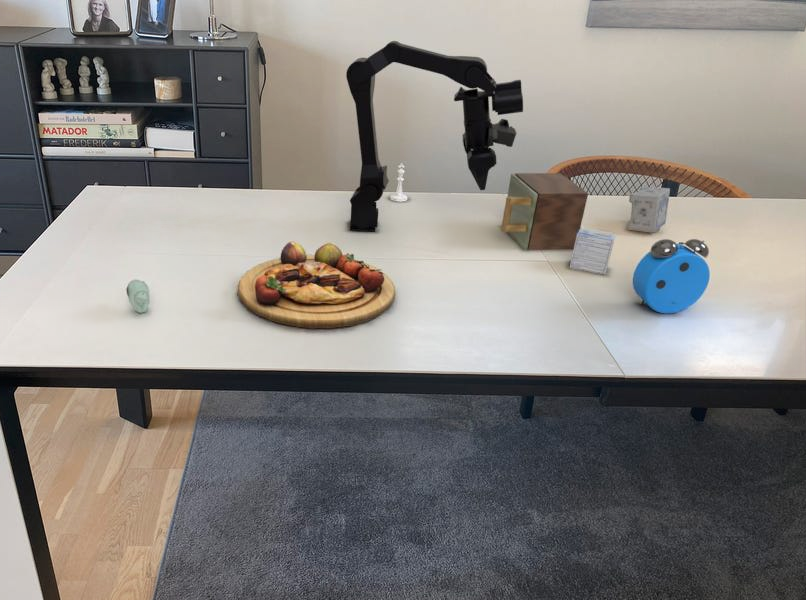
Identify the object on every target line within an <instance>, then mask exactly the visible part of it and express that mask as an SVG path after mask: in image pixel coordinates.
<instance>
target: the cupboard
mask: <svg viewBox="0 0 806 600" xmlns="http://www.w3.org/2000/svg"><path fill="white" fill-rule="evenodd" d="M514 174H515V175H516V176H517V177H518V178H519V179H521V180H522V181H523V182H524V183H525V184H526V185H528V186H529V187H530V188H531V189H532V190H533V191H535V192H536V193H537V194H538V197H537V202H536V207H535V212H534V218H533V223H532V228H531V233H530V238H529V243H528V249H527V250H528V251H553V250H554V251H556V250H558V251H559V250H560V251H561V250H563V251H565V250H566V251H567V250H574V246H575V242H576V237H577V233H578V231H579V229H580V228H581V227H582V222H583V218H584V215H585V214H584V213H585V210H586V204H587V201H588V197H589V193H588V192H587V191H585V190H584V189H583V188H581V187H580V186H579V185H577V184H576V183H575V182H574V181H572V180H571V179H570V178H568V177H567V176H565V175H564V174H562V173H560V172H557V173H556V172H553V173H551V172H546V173H545V172H542V173H541V172H537V173H536V172H532V173H531V172H527V173H526V172H518V173H517V172H515V173H514Z"/></svg>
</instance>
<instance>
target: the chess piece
mask: <svg viewBox="0 0 806 600" xmlns="http://www.w3.org/2000/svg"><path fill="white" fill-rule="evenodd" d="M398 168H399V169H397V175H398V177H396V181H397V187H396V191H395V192H394V193H392V194H390V196H389V200H391V201H393V202H399V203H400V202H406V201H408V196H407V195H406V194H404V192H403V181H405V178H404V177H403V176H404V174H405V172H406V171H405V169H404V168H406V167H405V165H403V162H401V163H400V165H399V164H398Z"/></svg>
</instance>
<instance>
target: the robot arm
mask: <svg viewBox="0 0 806 600" xmlns="http://www.w3.org/2000/svg"><path fill="white" fill-rule="evenodd" d="M393 63H396V64H401V65H404V66H409V67H412V68H415V69H420V70H424V71H426V72H431V73H435V74H439V75H442V76H444V77H446V78H449V79H450V80H452V81H454V82H455V83H457V84H460V85H462V86H463V87H466V88H469V89H465V88H463V87H462V86H460V87H459V89H458V91H457V92H455V94H454V95H453V96H454V97H453V101H454V102H461V101H462V109H463V127H464V133H463V134H462V145H463V149H464V152H465V154H466V162H467V168H468V170H469V171H470V173H471V175H472V177H473V179H474V181H475V183H476V185H477V187H478V189H479V190H480V191H485V190H486V187H487V181H488V177H489V171H490V170H491V169H492V168H494V167H495V166H496V165H497V154H496V151H495V150H494V149H493V148H492V147H494V143H495V144H498V145H503V146H506V147H508V148H509V147H510V148H512V147H514V146H513V145H514V142H515V139H516V137H517V131H516V128H514V127H513V126H511V125H510V123H509V120H508V119H505V118H501V119H500V120H499V121H498V122H495V123H493V122H492V121H491V116H490V101H489V100H490V99H489V98H491V111H492V112H494V113H497V116H502V115H503V116H504V115H509V114H510V115H511V114H517V113H518V114H520V113H524V96H523V90H522V80H521V79H515V80H512V81H505V82H499V83H498V82H497V81H496V80H495V78H493V77H492V76H491V74H490V73H489V72H488V65H487V63H486V61H485V60H484V59H483V58H481V57H478V56H470V55H469V56H468V55H447V54H443V53H439V52H436V51H431V50H428V49H424V48H420V47H416V46H412V45H408V44H405V43H401V42H399V41H398V40H392V41H389V42H388V43H387V44H386V45H385V46H384V47H382V48H381V49H379V50H378V51H376V52H374V53H372V54H371V55H369V57H359V58H357V59H355V60H354V61H353V62H352V63H350V65H349V66H348V67H347V69H346V74H345V77H346V82H347V84H348V88H349V91H350V94H351V97H352V99H353V101H354V104H355V112H356V123H357V130H358V138H359V139H358V140H359V148H360V157H361V168H360V176H359V186H358V187H357V188H356V189H355V190H354V192H353V193H352V196H351V198H349V202H350V219H349V231H353V232H369V233H370V232H372V233H373V232H374V233H375V232H376V228H378V224H379V208H378V207H377V202H378V201H379V200H380V199H381V198H382V197H383V194H384V192H385V190H386V189H387V187H388V184H389V182H390V180H389V178H388V165H383V166H382V164H381V161H380V159H379V149H378V140H377V139H378V137H377V129H376V119H375V109H374V94H375V93H374V92H375V86H376V74H378V73H380V72H381V71H382V70H384V69H385V68H387V67H388V66H390V65H391V64H393ZM479 89H480V90H479Z"/></svg>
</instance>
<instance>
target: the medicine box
mask: <svg viewBox="0 0 806 600" xmlns="http://www.w3.org/2000/svg"><path fill="white" fill-rule="evenodd" d="M615 238H616V233H615V232H610V231H605V230H600V229H594V228H588V227H583V226H581V227H580V229H579V231H578V233H577V237H576V242H575V246H574V249H572V250H573V251H572V255H571V259H570V263H569V269H574V270H578V271H585V272H590V273H595V274H599V275H606V273H607V269H608V267H609V266H608V265H609V263H610V258H611V254H612V250H613V247H614V243H615Z"/></svg>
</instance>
